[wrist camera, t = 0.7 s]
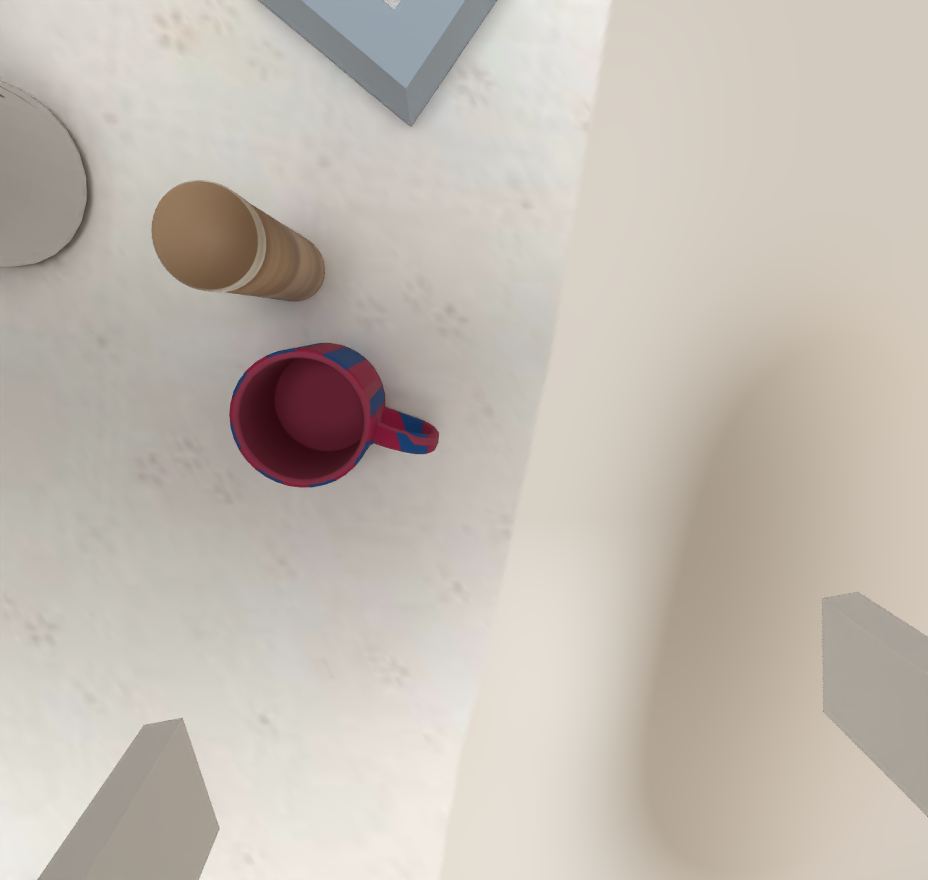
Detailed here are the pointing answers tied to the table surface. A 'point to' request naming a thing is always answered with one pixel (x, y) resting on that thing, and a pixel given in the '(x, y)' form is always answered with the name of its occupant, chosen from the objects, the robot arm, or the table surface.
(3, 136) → the mug
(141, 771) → the robot arm
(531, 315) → the table surface
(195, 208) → the dowel
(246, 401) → the cup
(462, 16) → the socket block
